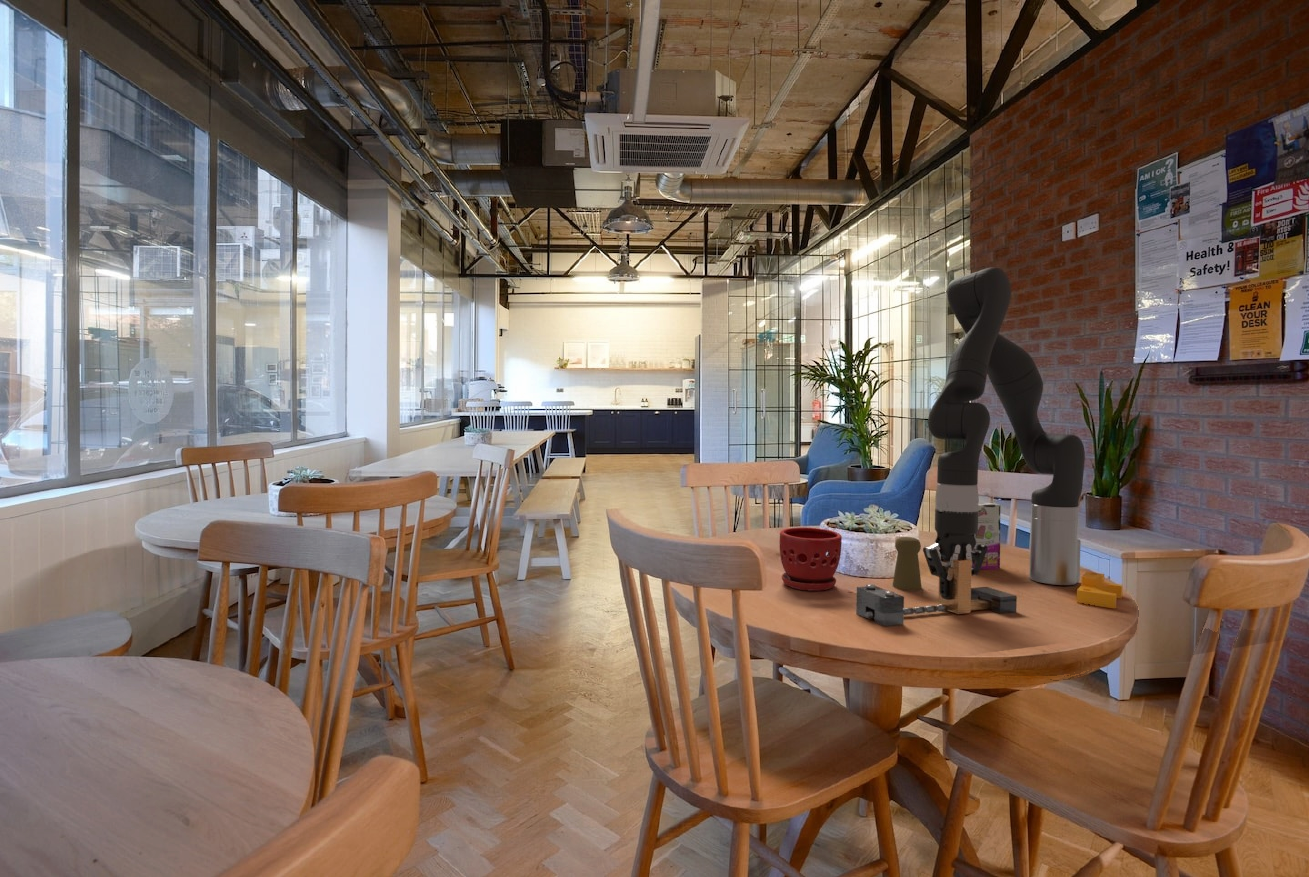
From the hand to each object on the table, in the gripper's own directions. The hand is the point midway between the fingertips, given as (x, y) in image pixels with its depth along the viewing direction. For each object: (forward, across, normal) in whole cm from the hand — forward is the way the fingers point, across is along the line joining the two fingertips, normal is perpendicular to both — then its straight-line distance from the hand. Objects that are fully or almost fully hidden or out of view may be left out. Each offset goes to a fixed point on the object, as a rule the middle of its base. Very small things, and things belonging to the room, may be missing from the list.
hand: (954, 597), depth 130 cm
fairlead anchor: (+3, +17, 0) cm, 17 cm away
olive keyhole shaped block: (+3, -4, -18) cm, 19 cm away
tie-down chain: (+3, +8, 0) cm, 8 cm away
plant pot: (+3, +16, -25) cm, 30 cm away
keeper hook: (+3, -10, 0) cm, 10 cm away
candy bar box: (+3, -32, -28) cm, 43 cm away
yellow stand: (0, -34, -1) cm, 34 cm away
